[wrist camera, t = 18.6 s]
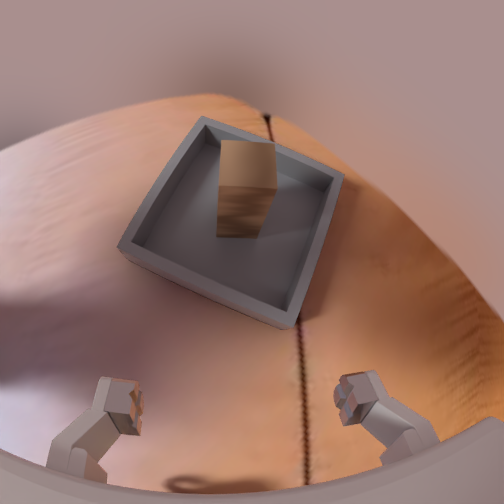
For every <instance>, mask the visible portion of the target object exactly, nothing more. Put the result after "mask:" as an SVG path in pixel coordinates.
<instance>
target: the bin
mask: <svg viewBox="0 0 504 504" xmlns="http://www.w3.org/2000/svg"><path fill="white" fill-rule="evenodd" d="M221 140H234V141H249V142H262V143H274V142H271V141H269V140H266V139H264V138H261V137H259V136H256V135H254V134H251V133H249V132H246V131H243V130H241V129H238V128H235V127H232V126H230V125H227V124H224V123H221V122H218V121H215V120H213V119H210V118H207V117H204V116H201V117H200V118H199V120H198V121H197V122H196V124H195V125H194V126H193V128H192V129H191V131H190V132H189V133H188V135H187V136H186V137H185V139H184V140H183V142H182V143H181V144H180V146H179V147H178V149H177V150H176V151H175V153H174V154H173V156H172V157H171V159H170V160H169V162H168V163H167V165H166V166H165V168H164V169H163V171H162V172H161V174H160V175H159V177H158V178H157V180H156V181H155V183H154V184H153V186H152V188H151V189H150V191H149V192H148V194H147V196H146V197H145V199H144V200H143V202H142V204H141V205H140V207H139V209H138V210H137V212H136V214H135V215H134V217H133V219H132V221H131V222H130V224H129V226H128V227H127V229H126V231H125V233H124V235H123V236H122V238H121V240H120V242H119V244H118V245H117V248H118V249H119V250H120V251H121V252H122V254H123V255H124V256H125V257H126V258H127V259H128V260H129V261H131V262H133V263H135V264H137V265H139V266H141V267H143V268H145V269H147V270H149V271H151V272H153V273H155V274H157V275H159V276H161V277H163V278H166V279H168V280H170V281H172V282H174V283H176V284H178V285H180V286H182V287H184V288H187V289H189V290H191V291H193V292H195V293H197V294H200V295H202V296H204V297H206V298H208V299H211V300H213V301H215V302H217V303H220V304H222V305H224V306H226V307H229V308H231V309H233V310H235V311H238V312H240V313H242V314H245V315H247V316H249V317H252V318H254V319H257V320H259V321H261V322H264V323H266V324H269V325H271V326H273V327H276V328H278V329H281V330H284V329H289V328H293V327H294V325H295V322H296V319H297V317H298V314H299V312H300V309H301V306H302V303H303V301H304V298H305V295H306V293H307V290H308V287H309V284H310V281H311V279H312V276H313V273H314V270H315V267H316V264H317V261H318V258H319V255H320V252H321V249H322V246H323V243H324V240H325V237H326V234H327V231H328V228H329V225H330V222H331V219H332V215H333V212H334V209H335V206H336V202H337V199H338V196H339V192H340V189H341V186H342V182H343V179H344V174H342V173H340V172H338V171H336V170H334V169H332V168H330V167H328V166H326V165H324V164H322V163H319V162H317V161H315V160H313V159H311V158H309V157H306V156H304V155H302V154H300V153H297V152H295V151H293V150H290V149H288V148H286V147H283V146H281V145H279V144H276V143H274V144H275V152H276V168H277V185H278V189H277V192H276V194H275V196H274V199H273V201H272V204H271V206H270V208H269V211H268V213H267V215H266V218H265V220H264V223H263V225H262V227H261V230H260V232H259V234H258V237H257V239H251V238H222V237H216V230H217V205H218V186H219V169H220V154H221Z"/></svg>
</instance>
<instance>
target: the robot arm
mask: <svg viewBox="0 0 504 504" xmlns="http://www.w3.org/2000/svg"><path fill="white" fill-rule="evenodd" d="M339 381H340V384H338V385H337V386H336V387H335V390H334V396H333V397H334V402H335V405H336V407H338V408H339V409H340V413H339V416H340V419H341V422H342V424H343V426H349V425H354V424H359V423H361V425H362V426H363V427H364V428H365V429H366V430H368V431H369V432H370V433H371V434H372V435H373V436H374V437H375V438H377V439H378V440H379V441H380V442H381V443H382V444H383V445H385V446H386V447H387V449H386V450H385V451H384V452H383V453H382V454H381V456H380V460H381V462H382V465H383V466H381V467H378V468H375V469H372V470H368V471H365V472H362V473H358V474H355V475H351V476H347V477H343V478H339V479H335V480H331V481H326V482H322V483H317V484H312V485H306V486H301V487H295V488H288V489H281V490H273V491H263V492H252V493H236V494H185V493H169V492H158V491H149V490H141V489H134V488H127V487H121V486H116V485H110V484H107V473H106V471H105V470H104V469H103V468H102V467H101V466H100V465H99V464H98V461H99V460H100V459H101V458H102V457H103V455H104V454H105V453H106V452H107V451H108V449H109V448H110V447H111V446H112V445H113V443H114V442H115V441H116V440H117V439H118V437H119V436H120V434H126V435H136V436H140V433H141V425H142V422H141V419H140V416H141V415H142V414H143V408H144V400H143V394H142V392H141V391H140V390H139V387H140V385H139V383H138V381H135V380H126V379H118V378H112V377H104V376H101V378H100V379H99V382H98V385H97V389H96V393H95V396H94V400H93V404H92V408H91V409H87V410H86V411H85V412H84V413H82V414H81V415H80V416H79V417H78V418H77V419H76V420H75V421H73V422H72V423H71V424H70V425H69V426H68V427H67V428H65V429H64V430H63V431H62V432H61V433H60V434H59V435H58V436H56V437H55V438H54V439H53V440H52V443H51V447H50V451H49V455H48V459H47V464H46V467H44V466H41V465H38V464H36V463H33V462H30V461H28V460H25V459H23V458H20V457H18V456H16V455H13V454H11V453H9V452H7V451H4V450H2V449H0V504H504V422H502V421H501V420H499V419H497V418H495V417H487V418H485V419H483V420H481V421H480V422H478V423H476V424H475V425H473V426H471V427H469V428H467V429H466V430H464V431H462V432H460V433H458V434H456V435H454V436H453V437H451V438H449V439H447V440H445V441H442V442H440V441H439V439H438V437H437V435H436V433H435V431H434V429H433V427H432V425H431V423H430V421H428V420H427V419H425V418H424V417H422V416H421V415H419V414H417V413H416V412H414V411H413V410H411V409H410V408H408V407H407V406H405V405H404V404H402V403H401V402H399V401H398V400H396V399H395V398H393V397H391V398H390V397H389V395H388V393H387V391H386V389H385V387H384V385H383V384H382V382H381V380H380V378H379V376H378V374H377V372H376V371H375V370H370V371H365V372H357V373H351V374H345V375H342V376H341V377H340V379H339Z"/></svg>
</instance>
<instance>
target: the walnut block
mask: <svg viewBox="0 0 504 504" xmlns="http://www.w3.org/2000/svg"><path fill="white" fill-rule="evenodd" d="M277 189H278V185H277V168H276V152H275V144H274V143H262V142H249V141H234V140H221V154H220V169H219V186H218V205H217V230H216V237H222V238H251V239H257V237H258V234H259V232H260V230H261V227H262V225H263V223H264V220H265V218H266V215H267V213H268V211H269V208H270V206H271V204H272V201H273V199H274V196H275V194H276V192H277Z"/></svg>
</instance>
